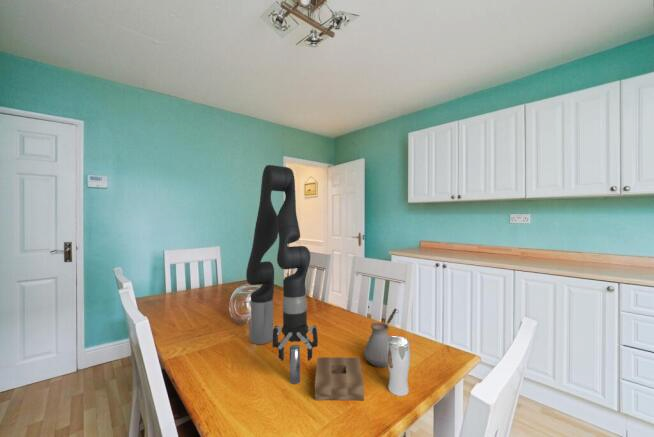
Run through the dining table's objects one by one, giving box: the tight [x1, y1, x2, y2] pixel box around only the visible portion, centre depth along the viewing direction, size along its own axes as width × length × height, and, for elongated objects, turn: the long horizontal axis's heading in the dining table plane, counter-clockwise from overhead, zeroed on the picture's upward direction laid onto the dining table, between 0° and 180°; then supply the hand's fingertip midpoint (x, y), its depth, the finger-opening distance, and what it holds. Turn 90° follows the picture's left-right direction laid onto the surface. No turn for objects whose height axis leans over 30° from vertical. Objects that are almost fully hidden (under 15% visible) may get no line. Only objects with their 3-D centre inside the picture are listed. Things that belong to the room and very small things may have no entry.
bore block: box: [314, 357, 365, 401], centre depth 86 cm, size 14×14×5 cm
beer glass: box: [386, 335, 411, 397], centre depth 83 cm, size 7×7×15 cm
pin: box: [289, 344, 301, 385], centre depth 88 cm, size 3×3×11 cm
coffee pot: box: [363, 308, 400, 368], centre depth 103 cm, size 21×12×15 cm, turn 143°
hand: (295, 359), depth 88 cm, fingers open, 8 cm apart
